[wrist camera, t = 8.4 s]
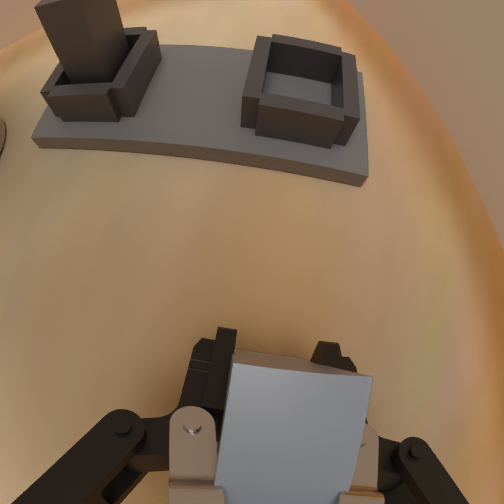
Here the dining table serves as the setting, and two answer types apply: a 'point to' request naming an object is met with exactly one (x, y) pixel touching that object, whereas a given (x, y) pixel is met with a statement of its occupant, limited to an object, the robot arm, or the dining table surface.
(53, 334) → the dining table surface
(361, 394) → the plug
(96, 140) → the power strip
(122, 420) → the robot arm
